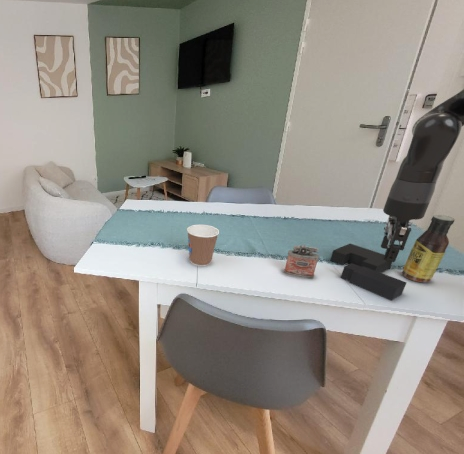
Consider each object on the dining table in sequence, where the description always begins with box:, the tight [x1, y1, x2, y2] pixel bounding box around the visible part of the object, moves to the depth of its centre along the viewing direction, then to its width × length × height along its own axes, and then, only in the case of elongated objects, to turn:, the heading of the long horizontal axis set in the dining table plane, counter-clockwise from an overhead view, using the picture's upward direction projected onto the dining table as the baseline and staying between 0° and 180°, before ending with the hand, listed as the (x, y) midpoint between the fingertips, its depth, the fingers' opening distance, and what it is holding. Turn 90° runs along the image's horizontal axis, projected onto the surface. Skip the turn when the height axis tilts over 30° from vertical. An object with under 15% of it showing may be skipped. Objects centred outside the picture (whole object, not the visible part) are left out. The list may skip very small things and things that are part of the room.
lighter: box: [283, 244, 320, 280], centre depth 90 cm, size 8×3×10 cm, turn 65°
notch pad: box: [329, 243, 393, 273], centre depth 94 cm, size 12×10×4 cm
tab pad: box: [340, 263, 407, 301], centre depth 84 cm, size 6×13×4 cm, turn 26°
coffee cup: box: [186, 224, 220, 267], centre depth 100 cm, size 10×10×12 cm
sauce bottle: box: [402, 214, 456, 283], centre depth 83 cm, size 7×6×20 cm
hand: (387, 254), depth 79 cm, fingers open, 8 cm apart
